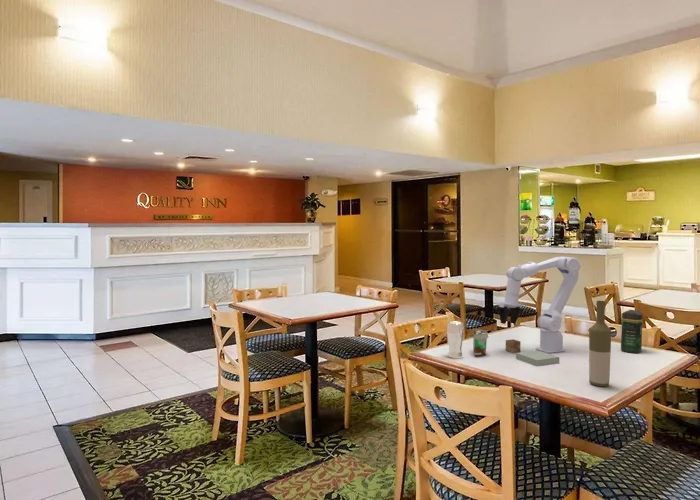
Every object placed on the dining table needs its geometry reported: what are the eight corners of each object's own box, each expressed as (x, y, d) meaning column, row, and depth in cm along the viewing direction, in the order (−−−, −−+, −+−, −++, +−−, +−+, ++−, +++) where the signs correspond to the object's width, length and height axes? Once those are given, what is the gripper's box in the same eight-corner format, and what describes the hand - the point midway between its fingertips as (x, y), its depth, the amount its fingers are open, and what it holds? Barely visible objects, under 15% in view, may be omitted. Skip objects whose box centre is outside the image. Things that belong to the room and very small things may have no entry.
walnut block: (513, 350, 218) (513, 339, 218) (520, 352, 214) (520, 341, 213) (505, 351, 216) (505, 340, 216) (512, 353, 212) (512, 342, 212)
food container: (489, 358, 204) (489, 335, 204) (474, 357, 205) (474, 334, 205) (487, 350, 216) (487, 329, 216) (473, 350, 217) (473, 328, 217)
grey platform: (537, 357, 207) (537, 350, 207) (559, 364, 196) (559, 357, 196) (516, 359, 203) (516, 353, 203) (536, 367, 192) (536, 360, 192)
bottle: (589, 386, 167) (590, 302, 166) (587, 380, 174) (588, 299, 172) (611, 388, 165) (613, 303, 163) (608, 382, 171) (610, 300, 170)
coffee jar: (639, 354, 209) (640, 312, 208) (619, 351, 214) (620, 310, 213) (643, 350, 216) (644, 309, 215) (623, 347, 221) (624, 308, 220)
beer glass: (466, 356, 207) (466, 322, 206) (458, 359, 202) (458, 324, 201) (452, 353, 212) (452, 320, 211) (443, 356, 207) (444, 322, 206)
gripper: (514, 292, 220) (509, 321, 221) (495, 291, 211) (490, 321, 212) (527, 295, 215) (523, 324, 215) (508, 294, 206) (504, 324, 206)
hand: (507, 323), depth 213 cm, fingers open, 7 cm apart
